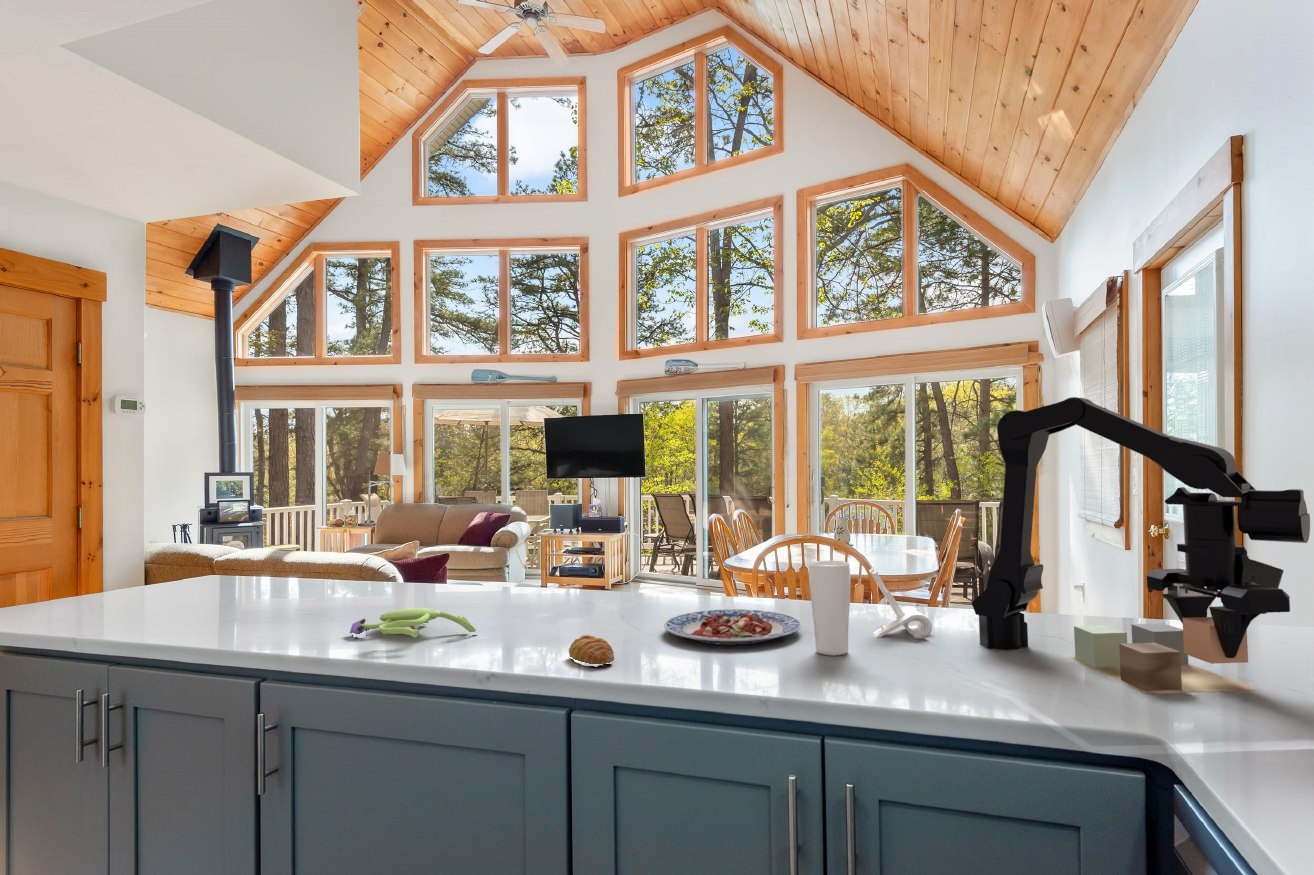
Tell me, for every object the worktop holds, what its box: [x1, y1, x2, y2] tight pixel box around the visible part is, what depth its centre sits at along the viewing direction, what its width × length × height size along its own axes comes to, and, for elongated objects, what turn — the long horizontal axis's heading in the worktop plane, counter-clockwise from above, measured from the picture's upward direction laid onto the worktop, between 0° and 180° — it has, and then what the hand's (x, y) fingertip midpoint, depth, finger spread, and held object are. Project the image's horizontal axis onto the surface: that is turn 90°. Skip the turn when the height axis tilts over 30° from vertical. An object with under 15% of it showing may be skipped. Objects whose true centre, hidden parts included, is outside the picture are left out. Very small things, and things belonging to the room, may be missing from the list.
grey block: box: [1130, 622, 1189, 665], centre depth 113 cm, size 5×5×5 cm
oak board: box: [1068, 656, 1259, 695], centre depth 107 cm, size 15×18×1 cm
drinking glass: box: [808, 560, 851, 657], centre depth 126 cm, size 7×7×15 cm
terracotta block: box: [1182, 616, 1249, 664], centre depth 102 cm, size 5×5×5 cm
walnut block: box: [1119, 642, 1182, 691], centre depth 102 cm, size 5×5×5 cm
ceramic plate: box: [663, 608, 802, 645], centre depth 141 cm, size 26×26×3 cm
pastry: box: [568, 634, 615, 664], centre depth 124 cm, size 9×7×4 cm
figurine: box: [349, 607, 477, 638], centre depth 146 cm, size 18×27×6 cm
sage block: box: [1073, 624, 1128, 668], centre depth 113 cm, size 5×5×5 cm
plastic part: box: [868, 567, 933, 639], centre depth 138 cm, size 8×10×12 cm
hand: (1215, 652), depth 102 cm, fingers closed on terracotta block, 5 cm apart
